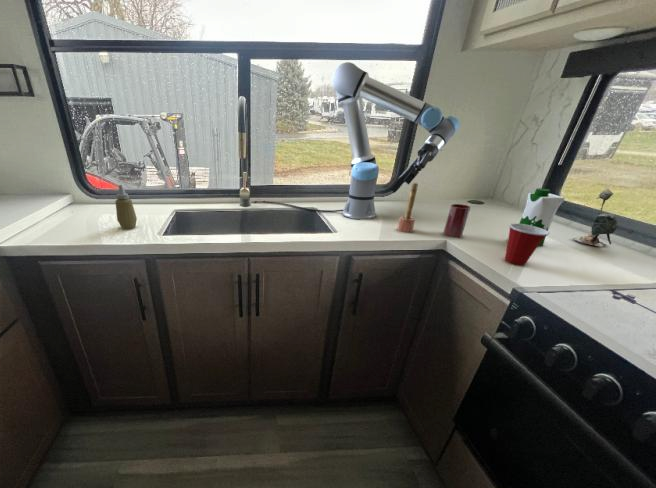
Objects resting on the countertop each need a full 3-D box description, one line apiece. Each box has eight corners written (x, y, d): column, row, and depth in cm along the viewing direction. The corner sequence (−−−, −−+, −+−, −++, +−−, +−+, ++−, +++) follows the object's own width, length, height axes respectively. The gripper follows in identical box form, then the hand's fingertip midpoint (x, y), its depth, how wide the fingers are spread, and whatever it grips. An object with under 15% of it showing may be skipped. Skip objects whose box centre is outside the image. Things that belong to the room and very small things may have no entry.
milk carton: (508, 239, 133) (527, 187, 123) (531, 239, 133) (552, 187, 123) (522, 246, 126) (545, 192, 116) (547, 246, 125) (571, 192, 116)
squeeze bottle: (115, 228, 147) (105, 186, 138) (128, 223, 153) (121, 182, 144) (128, 231, 143) (119, 187, 135) (142, 226, 150) (134, 184, 141)
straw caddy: (396, 232, 141) (399, 219, 139) (397, 228, 146) (400, 215, 143) (412, 234, 139) (415, 220, 136) (412, 229, 144) (415, 217, 141)
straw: (401, 230, 142) (412, 183, 133) (402, 228, 144) (412, 182, 134) (407, 231, 141) (418, 184, 132) (408, 229, 143) (418, 183, 134)
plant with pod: (592, 249, 123) (621, 193, 113) (568, 239, 133) (593, 186, 123) (615, 249, 123) (646, 193, 113) (590, 239, 133) (617, 187, 123)
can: (443, 237, 136) (451, 207, 130) (442, 232, 141) (450, 203, 135) (462, 239, 133) (471, 209, 127) (460, 234, 139) (469, 205, 133)
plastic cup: (542, 269, 108) (558, 233, 102) (504, 267, 109) (518, 231, 104) (525, 257, 117) (539, 223, 111) (491, 255, 119) (503, 221, 113)
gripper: (453, 143, 136) (419, 184, 137) (422, 164, 161) (393, 198, 162) (440, 131, 136) (406, 172, 137) (410, 154, 161) (381, 188, 161)
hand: (399, 186), depth 149 cm, fingers open, 13 cm apart
